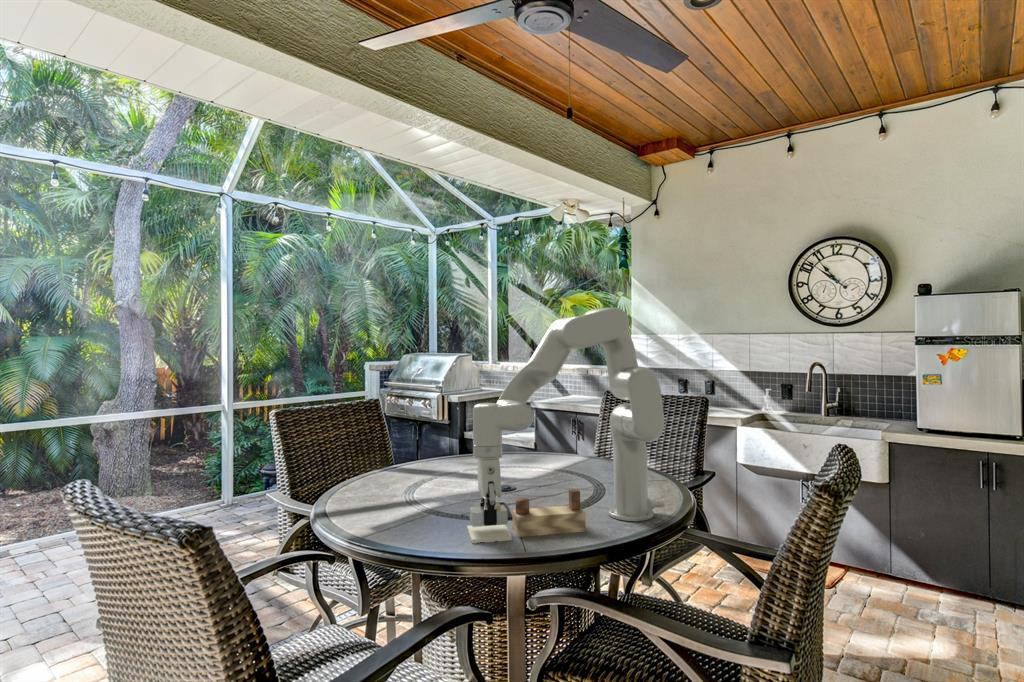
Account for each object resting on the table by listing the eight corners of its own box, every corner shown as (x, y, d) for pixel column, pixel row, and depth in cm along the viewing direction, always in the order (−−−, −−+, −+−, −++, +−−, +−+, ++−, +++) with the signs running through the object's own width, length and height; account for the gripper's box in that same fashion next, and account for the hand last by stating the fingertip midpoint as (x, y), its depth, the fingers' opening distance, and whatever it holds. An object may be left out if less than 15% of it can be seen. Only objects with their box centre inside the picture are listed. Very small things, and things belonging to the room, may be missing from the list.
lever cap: (503, 518, 153) (503, 500, 153) (507, 524, 147) (507, 506, 147) (469, 520, 151) (469, 503, 151) (472, 527, 146) (472, 509, 146)
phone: (484, 518, 161) (479, 503, 176) (484, 522, 161) (479, 507, 176) (512, 516, 162) (505, 501, 177) (512, 520, 162) (505, 505, 177)
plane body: (577, 523, 157) (576, 486, 157) (585, 531, 151) (585, 493, 151) (512, 528, 154) (512, 490, 154) (518, 537, 147) (517, 497, 147)
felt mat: (503, 526, 156) (503, 522, 156) (511, 540, 145) (511, 536, 145) (467, 529, 154) (466, 525, 154) (472, 543, 143) (472, 539, 143)
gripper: (508, 456, 142) (509, 530, 142) (496, 444, 158) (497, 510, 158) (477, 458, 140) (478, 533, 140) (469, 446, 157) (470, 512, 157)
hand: (488, 520), depth 149 cm, fingers closed on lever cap, 5 cm apart
